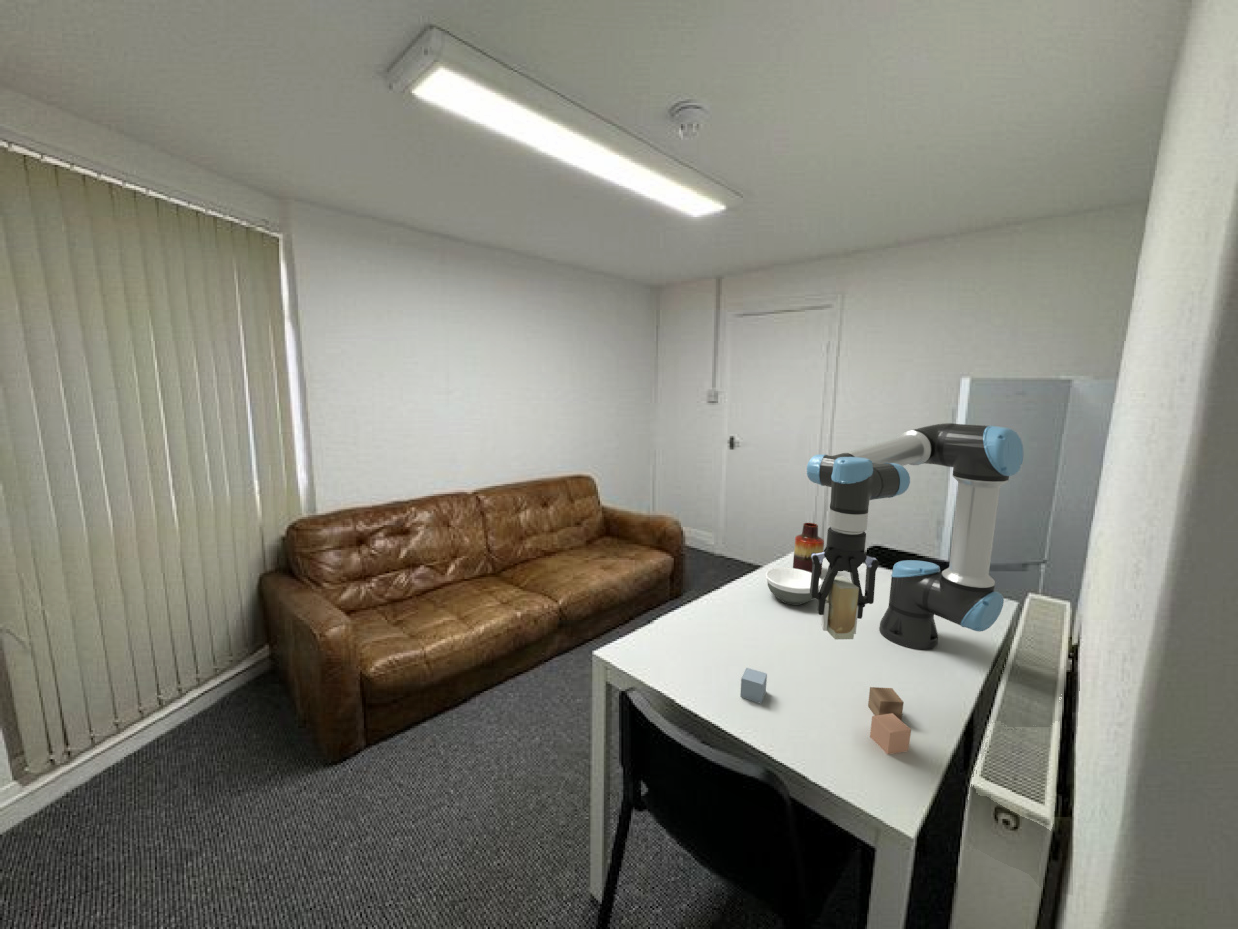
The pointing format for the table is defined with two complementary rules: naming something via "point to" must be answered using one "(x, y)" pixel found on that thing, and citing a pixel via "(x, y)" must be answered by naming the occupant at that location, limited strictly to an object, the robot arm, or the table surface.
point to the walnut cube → (885, 702)
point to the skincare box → (842, 608)
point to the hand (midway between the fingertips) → (838, 629)
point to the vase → (807, 547)
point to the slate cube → (753, 685)
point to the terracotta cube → (890, 733)
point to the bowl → (790, 585)
